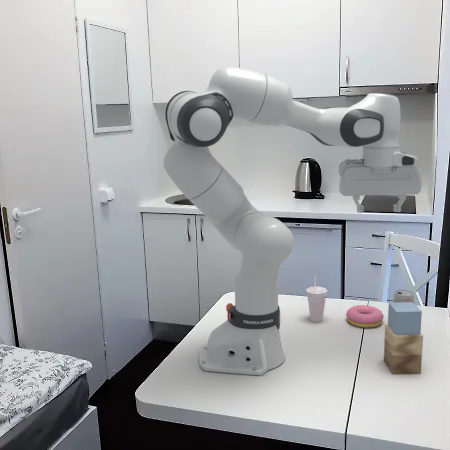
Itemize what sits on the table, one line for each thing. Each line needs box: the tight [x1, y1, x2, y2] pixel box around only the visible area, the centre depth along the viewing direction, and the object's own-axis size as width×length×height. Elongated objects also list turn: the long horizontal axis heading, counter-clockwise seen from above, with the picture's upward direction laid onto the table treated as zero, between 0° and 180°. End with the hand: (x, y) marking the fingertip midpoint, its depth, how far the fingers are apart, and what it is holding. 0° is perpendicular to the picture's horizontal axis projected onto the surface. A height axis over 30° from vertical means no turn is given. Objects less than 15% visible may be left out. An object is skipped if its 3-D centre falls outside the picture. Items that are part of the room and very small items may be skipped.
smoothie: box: [305, 275, 328, 323], centre depth 157 cm, size 6×6×14 cm
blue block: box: [387, 302, 423, 335], centre depth 126 cm, size 6×6×6 cm
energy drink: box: [393, 289, 415, 304], centre depth 147 cm, size 5×5×12 cm
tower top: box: [383, 323, 424, 356], centre depth 127 cm, size 7×7×5 cm
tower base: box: [383, 342, 423, 375], centre depth 128 cm, size 7×7×5 cm
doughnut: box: [345, 304, 384, 329], centre depth 156 cm, size 11×11×4 cm
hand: (378, 212), depth 134 cm, fingers open, 8 cm apart
